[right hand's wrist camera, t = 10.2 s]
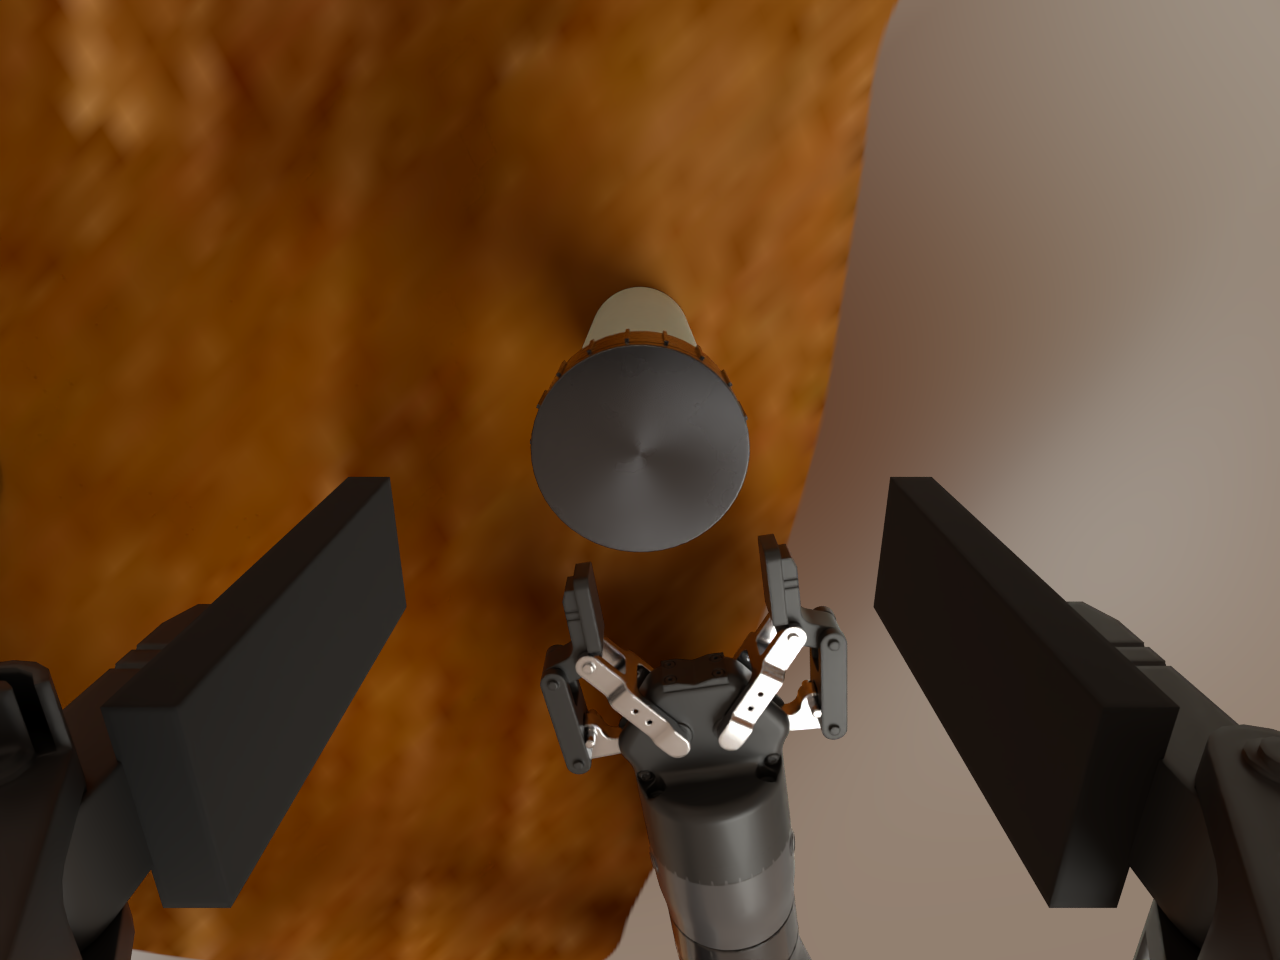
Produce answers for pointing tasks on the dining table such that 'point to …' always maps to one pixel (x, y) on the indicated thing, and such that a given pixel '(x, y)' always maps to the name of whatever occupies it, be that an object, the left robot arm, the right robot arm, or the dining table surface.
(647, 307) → the pale green capped tube
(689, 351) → the lid
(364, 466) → the dining table surface
